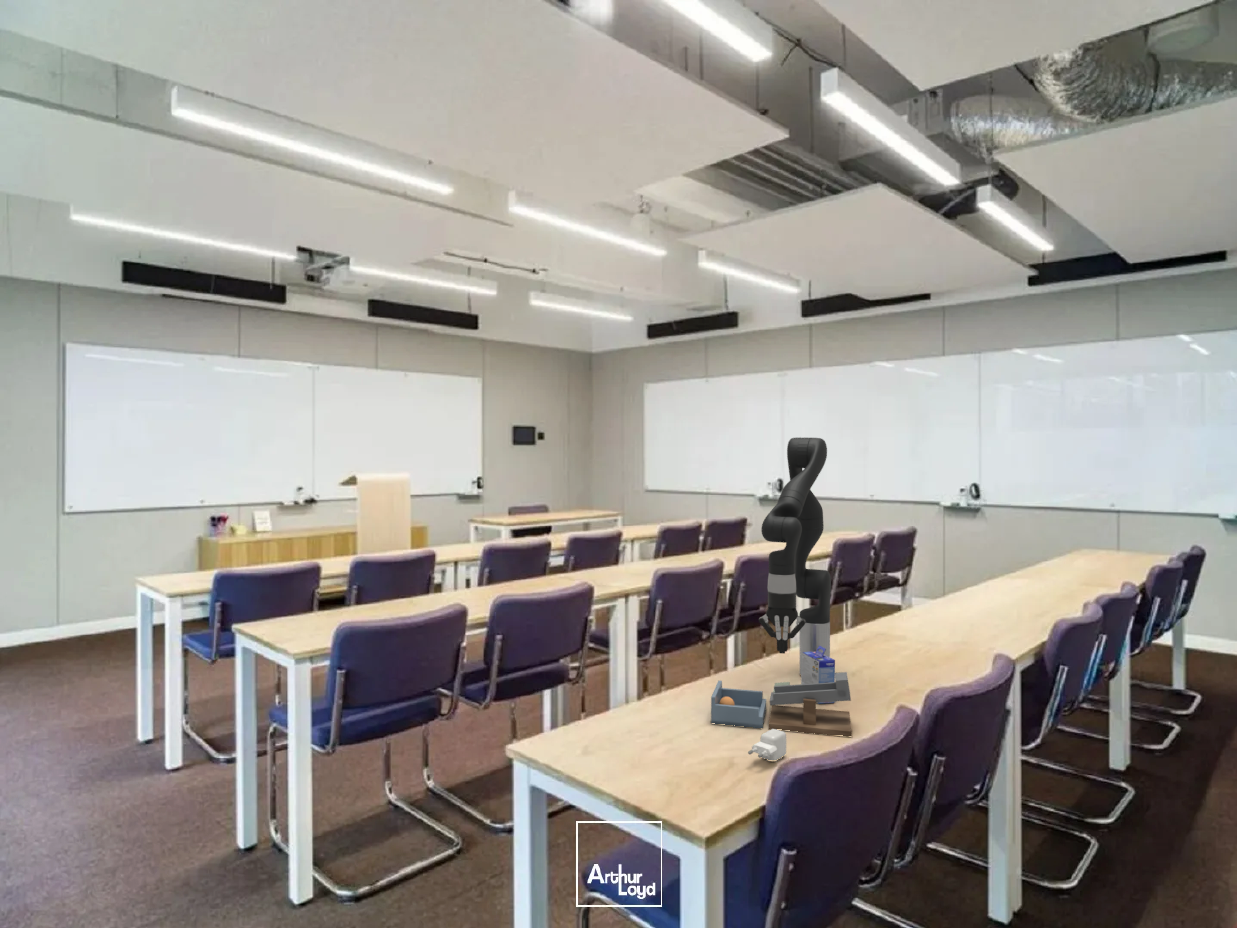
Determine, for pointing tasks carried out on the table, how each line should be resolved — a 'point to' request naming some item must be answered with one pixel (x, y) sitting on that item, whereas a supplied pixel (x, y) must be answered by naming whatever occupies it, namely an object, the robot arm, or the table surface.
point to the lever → (812, 691)
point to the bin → (738, 707)
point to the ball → (727, 701)
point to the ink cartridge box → (817, 668)
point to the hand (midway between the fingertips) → (782, 652)
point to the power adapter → (771, 745)
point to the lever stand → (810, 719)
